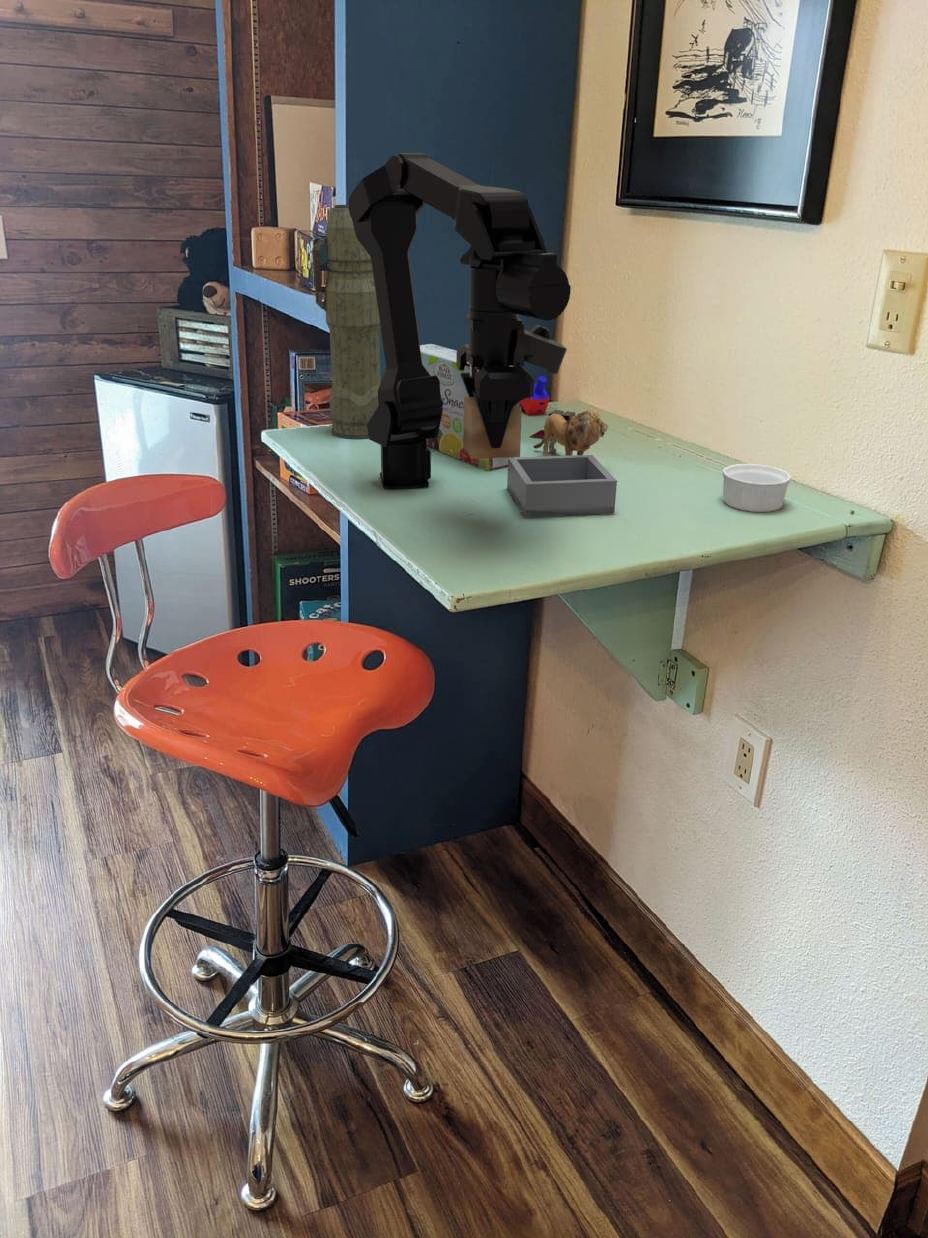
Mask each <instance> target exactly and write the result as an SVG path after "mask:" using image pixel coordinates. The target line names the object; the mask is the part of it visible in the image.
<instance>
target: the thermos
mask: <svg viewBox="0 0 928 1238" xmlns="http://www.w3.org/2000/svg"><path fill="white" fill-rule="evenodd" d="M333 206H334V207H329V210H328V214H327V219H326V222H327V224H326V229H325V236H324V238H320V239H318V240H317V242H315V244H314V245H313V247H312V248H311V249H312V262H313V263H312V264H313V273H314V274H313V277H314V287H315V288H314V289H315V290H314V291H315V303H316V305H317V306H318V307H319V308H320V309H321V310H323V311H324V312H325V323H326V325H327V327H328V329H329V347H330V348H329V349H330V367H331V369H330V370H331V389H330V394H329V417H330V419H331V433H332V435H333V436H335V437H337V438H341V439H349V440H363V439H364V440H365V439H369V434H368V429H367V424H368V422H369V420H370V419H371V417H372V415H373V414H374V412H375V411H376V409H377V407H378V388H379V386H380V383H381V359H380V358H381V355H380V353H381V352H380V350H381V349H380V329H381V326H380V319H379V312H378V304H377V297H376V290H375V283H374V276H373V268H372V261H371V257H370V255H369V254H368V253H367V251H366V250H365V249H364V247H363V246H362V245H361V243H360V242H359V240H358V239H357V238H356V235H355V230H354V226H353V221H352V218H351V216H350V214H349V207H348V204H334V205H333ZM323 245H325V246H326V260H328V261H327V262H328V269H327V278H326V283H325V287H324V300H323V293H322V277H321V275H322V274H321V257H320V255H321V254H320V253H321V252H320V250H321V247H322V246H323Z"/></svg>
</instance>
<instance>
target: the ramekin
mask: <svg viewBox="0 0 928 1238" xmlns="http://www.w3.org/2000/svg"><path fill="white" fill-rule="evenodd" d="M722 477H723V481H722V482H723V484H722V485H723V487H722V499H723V501H724V503H725V504H726V505H727V506H729V507H731V508H734V509H737V510H740V511H745V512H753V513H769V512H774V511H778V510H779V509H781V508H782V507H783V506H784V501H785V497H786V494H787V490H788V488H789V487H788V486H789V484H790V482H791V479H792V476H791V474H790V473H789V472H787V471H786V470H784V469H781V468H779V467H775V466H771V465H770V466H769V465H766V464H765V465H764V464H758V463H736V464H732V465H727V466H725V467H724V468H723V469H722Z"/></svg>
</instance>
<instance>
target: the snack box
mask: <svg viewBox="0 0 928 1238" xmlns="http://www.w3.org/2000/svg"><path fill="white" fill-rule="evenodd" d="M420 350H421V358H422V363H423V366H424V367H425V368H426V370H427V371H428V372H429V374H430V375H431V376H435V375H436V376H437V377H438V379H439V381H440V394H441V399H442V402H443V406H442V408H443V413H442V418H441V422H440V427H439V432H438V436H437V438H436V439H426V441H427V446H428V447H429V449H430V448H431V449H433V450H436V451H438V452H440V453H443V454H445V455H448V456H450V457H452V458H455V459H457V460H460V461H463V462H465V463H467V464H470V465H472V466H474V467H477V468H479V469H482V470H484V471H488V472H491V471H493V470H494V471H495V470H497V469H503V468H507V467H508V458H515V457H508V458H479V459H471V458H470V456H469V454H468V453H467V451H466V449H465V447H464V445H463V438H464V397H469V396H468V394H467V391H466V388H465V386H464V383H463V381H462V378H461V376H460V374H461V373H467V366H465V368H464V370H459V369H458V368H457V366H456V357H457V351H458V350H456V349H453V348H448V347H444V346H442V345H441V346H440V345H437V344H433V343H427V344H420Z"/></svg>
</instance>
